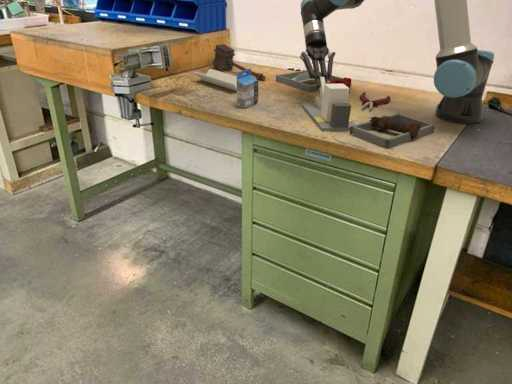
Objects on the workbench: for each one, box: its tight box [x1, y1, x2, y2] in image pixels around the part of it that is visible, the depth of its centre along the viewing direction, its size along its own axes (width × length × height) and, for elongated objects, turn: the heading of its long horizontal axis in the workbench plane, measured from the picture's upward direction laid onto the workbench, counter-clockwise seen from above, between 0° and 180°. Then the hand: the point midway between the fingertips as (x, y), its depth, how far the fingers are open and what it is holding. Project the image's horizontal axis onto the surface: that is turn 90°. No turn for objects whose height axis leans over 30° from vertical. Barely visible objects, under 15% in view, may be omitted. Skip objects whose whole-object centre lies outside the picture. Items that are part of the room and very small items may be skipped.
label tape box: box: [236, 68, 259, 109], centre depth 149 cm, size 9×4×12 cm, turn 148°
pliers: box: [359, 91, 392, 112], centre depth 157 cm, size 12×20×3 cm, turn 155°
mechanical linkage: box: [328, 77, 352, 95], centre depth 170 cm, size 16×7×5 cm, turn 150°
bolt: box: [369, 115, 420, 141], centre depth 130 cm, size 6×5×15 cm
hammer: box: [212, 43, 267, 81], centre depth 192 cm, size 7×33×10 cm, turn 44°
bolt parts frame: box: [349, 112, 436, 149], centre depth 130 cm, size 14×24×2 cm, turn 128°
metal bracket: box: [292, 72, 315, 83], centre depth 184 cm, size 14×6×15 cm
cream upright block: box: [321, 84, 351, 122], centre depth 135 cm, size 6×6×11 cm
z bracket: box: [193, 68, 237, 92], centre depth 175 cm, size 12×25×6 cm
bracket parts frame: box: [275, 69, 344, 93], centre depth 183 cm, size 22×22×2 cm
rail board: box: [301, 96, 357, 132], centre depth 141 cm, size 26×12×8 cm, turn 9°
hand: (323, 95), depth 146 cm, fingers closed
